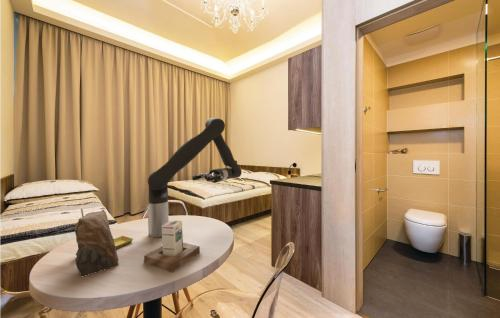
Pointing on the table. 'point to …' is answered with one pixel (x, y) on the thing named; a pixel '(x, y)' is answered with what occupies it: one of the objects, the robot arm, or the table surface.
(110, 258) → the brown rough tall block
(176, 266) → the hole board
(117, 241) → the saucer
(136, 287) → the table surface
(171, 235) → the syrup box
